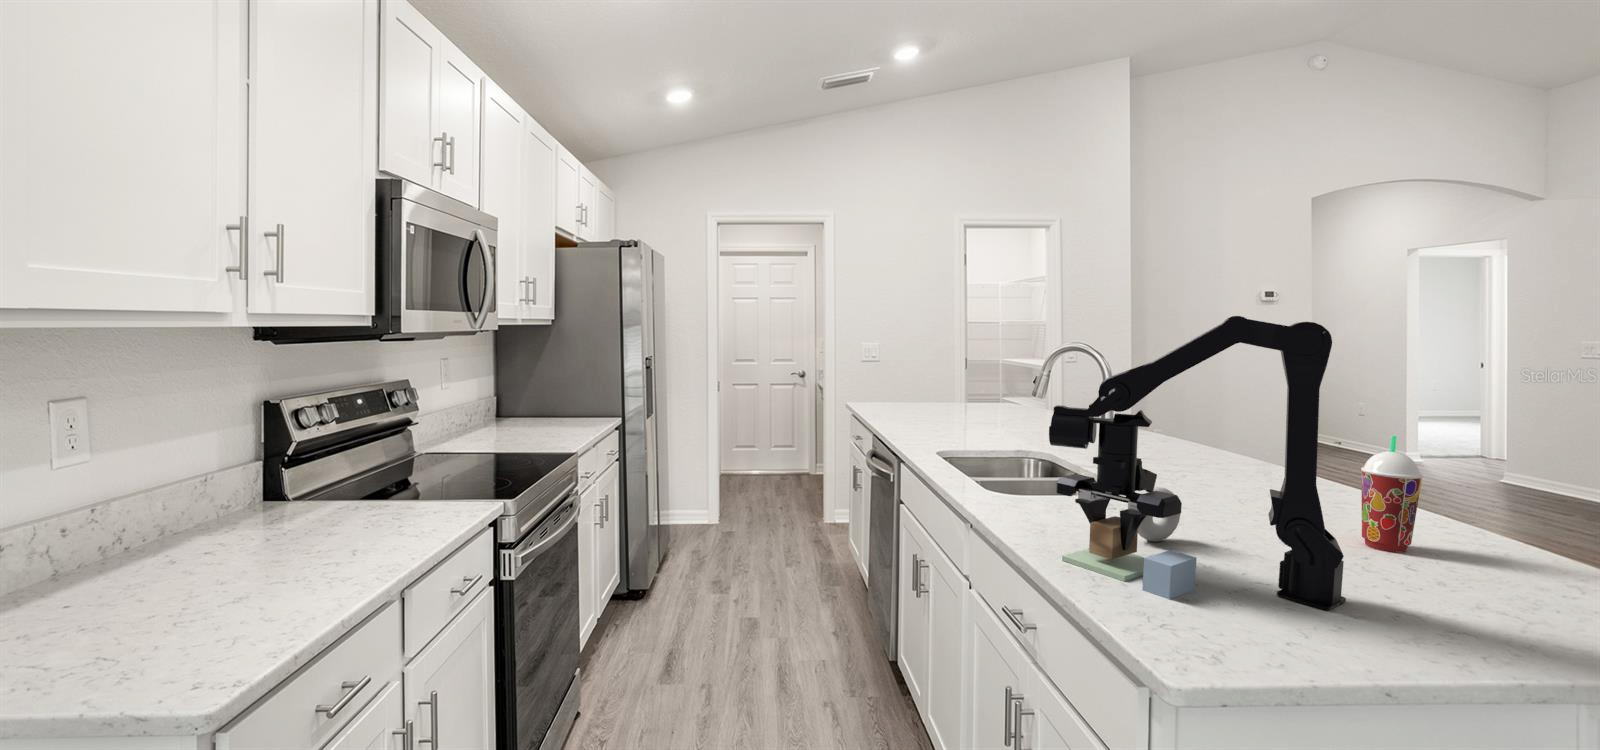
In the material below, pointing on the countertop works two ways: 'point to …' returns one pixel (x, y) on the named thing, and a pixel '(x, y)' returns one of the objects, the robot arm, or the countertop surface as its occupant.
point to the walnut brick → (1109, 539)
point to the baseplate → (1108, 564)
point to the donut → (1158, 524)
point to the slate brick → (1169, 574)
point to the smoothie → (1389, 500)
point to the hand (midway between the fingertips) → (1113, 546)
